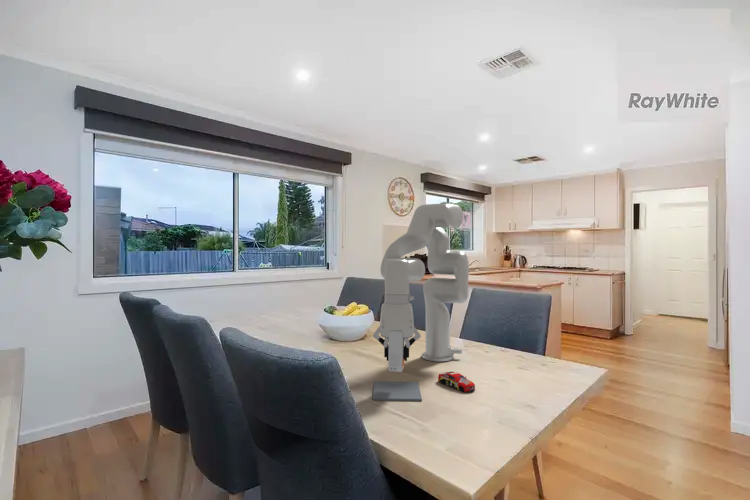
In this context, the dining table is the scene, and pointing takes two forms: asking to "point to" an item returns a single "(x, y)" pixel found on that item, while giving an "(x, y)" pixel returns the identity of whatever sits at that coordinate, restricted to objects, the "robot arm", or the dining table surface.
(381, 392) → the mat
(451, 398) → the dining table surface
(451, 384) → the race car
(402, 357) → the skincare box
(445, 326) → the robot arm
